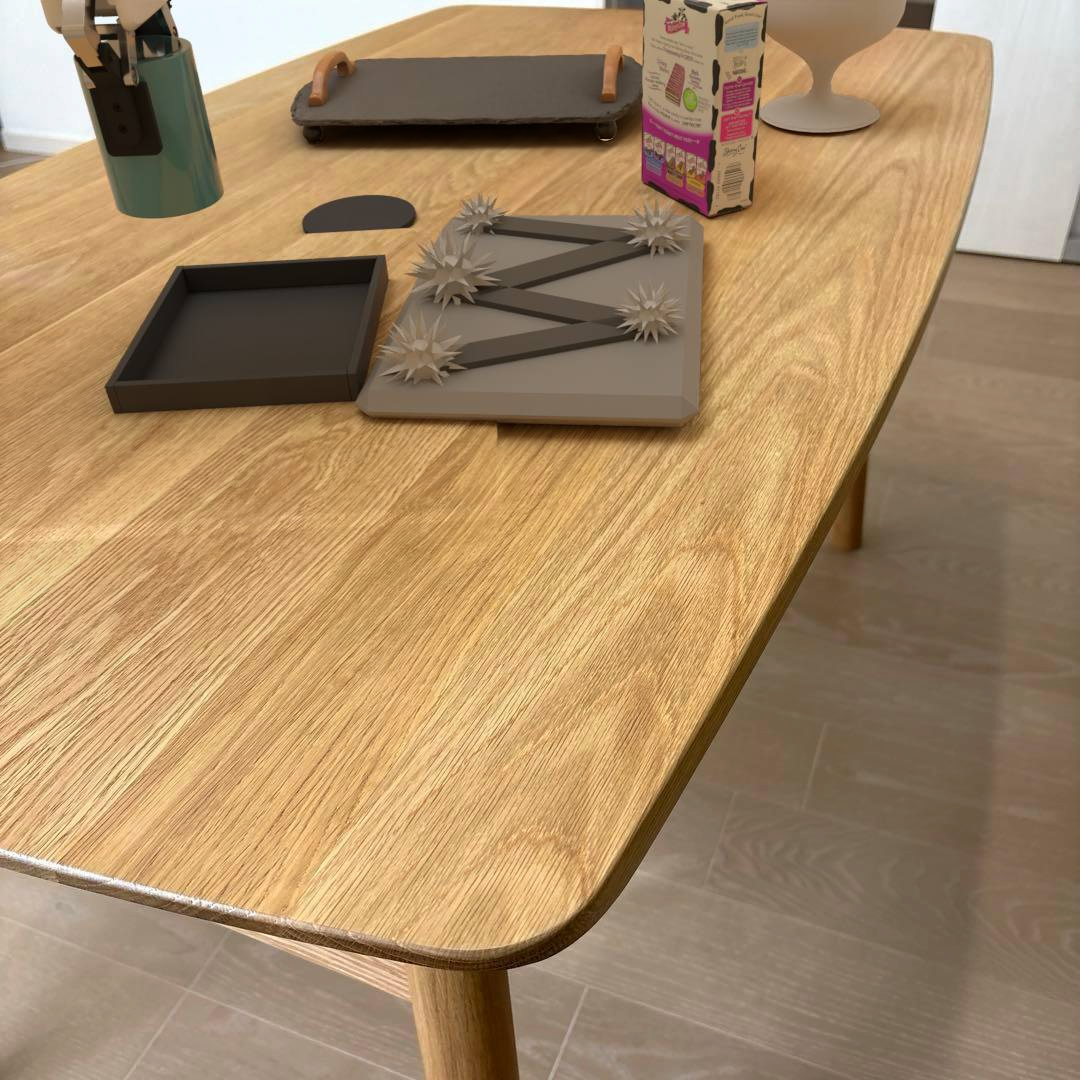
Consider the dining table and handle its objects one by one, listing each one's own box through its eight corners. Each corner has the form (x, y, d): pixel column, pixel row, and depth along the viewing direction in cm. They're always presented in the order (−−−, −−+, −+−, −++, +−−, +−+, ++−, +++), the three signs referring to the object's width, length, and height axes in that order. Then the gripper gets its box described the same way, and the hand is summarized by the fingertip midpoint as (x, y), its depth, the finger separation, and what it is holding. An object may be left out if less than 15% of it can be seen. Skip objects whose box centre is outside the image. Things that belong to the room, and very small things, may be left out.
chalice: (917, 123, 107) (945, -45, 97) (797, 149, 103) (814, -24, 94) (836, 88, 117) (854, -67, 108) (724, 110, 113) (733, -49, 104)
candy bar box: (756, 207, 92) (772, -1, 82) (708, 220, 91) (718, 10, 81) (683, 169, 100) (689, -24, 90) (638, 181, 99) (639, -15, 88)
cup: (102, 220, 66) (55, 67, 61) (133, 181, 72) (93, 36, 66) (210, 217, 66) (174, 62, 61) (234, 177, 72) (203, 31, 66)
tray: (117, 423, 70) (104, 386, 68) (185, 299, 84) (176, 265, 82) (362, 410, 70) (356, 373, 68) (390, 287, 84) (385, 254, 82)
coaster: (294, 247, 91) (293, 242, 91) (312, 203, 99) (311, 197, 98) (411, 241, 91) (410, 235, 90) (420, 197, 98) (419, 191, 98)
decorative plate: (697, 441, 65) (702, 335, 60) (354, 432, 68) (335, 331, 63) (703, 238, 88) (706, 151, 83) (447, 238, 91) (437, 154, 86)
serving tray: (655, 79, 123) (656, 21, 119) (643, 147, 106) (643, 82, 102) (333, 84, 129) (324, 28, 125) (270, 150, 111) (257, 88, 107)
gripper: (50, -226, 62) (133, 93, 73) (-83, -200, 48) (45, 187, 60) (178, -232, 62) (242, 89, 73) (81, -207, 48) (178, 182, 60)
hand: (153, 130), depth 66 cm, fingers closed on cup, 6 cm apart
